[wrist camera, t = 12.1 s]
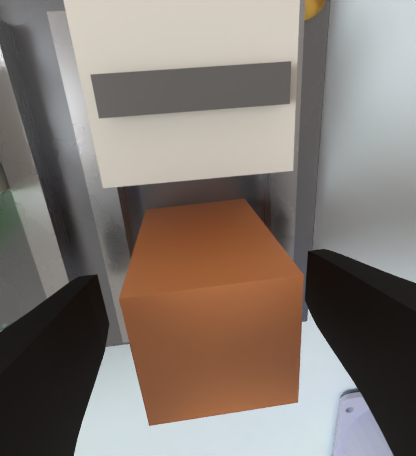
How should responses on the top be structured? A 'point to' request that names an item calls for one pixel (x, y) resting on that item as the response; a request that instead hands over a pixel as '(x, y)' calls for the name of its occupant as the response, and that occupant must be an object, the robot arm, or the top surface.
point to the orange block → (212, 312)
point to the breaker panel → (90, 176)
